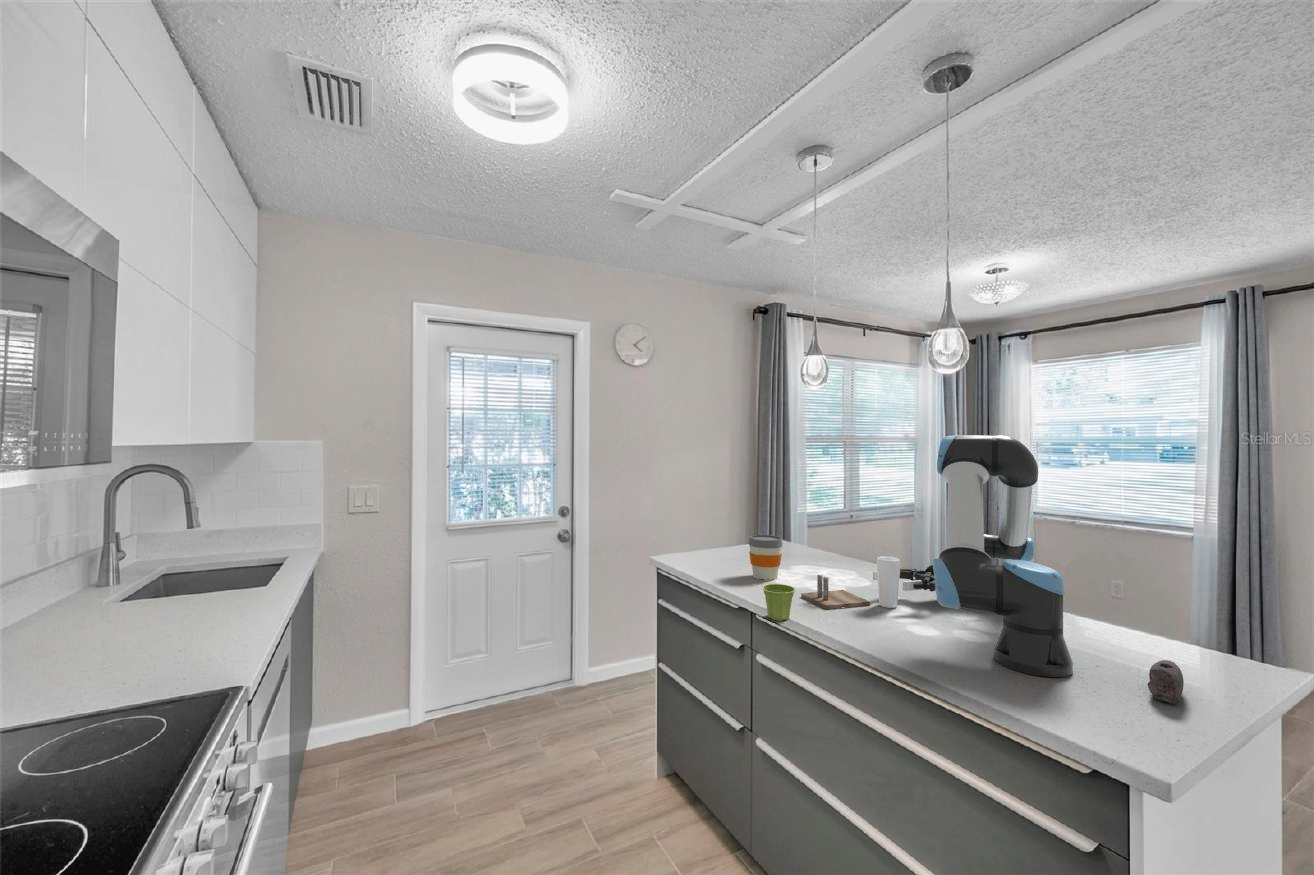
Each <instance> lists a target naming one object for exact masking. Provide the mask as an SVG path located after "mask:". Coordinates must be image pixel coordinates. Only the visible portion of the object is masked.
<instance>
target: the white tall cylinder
mask: <svg viewBox="0 0 1314 875" xmlns="http://www.w3.org/2000/svg"><path fill="white" fill-rule="evenodd" d="M900 569H901V559H900V558H898V557H895V556H889V555H885V556H884V555H882V556H881V555H880V556H878V557H877V558H876V571H877V579H878V580H877V588H878V590H877V592H878V604H879V606H881V607H882V608H886V609H895V608H898V598H899V589H900V588H899V587H900V580H901V579H900Z"/></svg>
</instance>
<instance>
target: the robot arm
mask: <svg viewBox="0 0 1314 875" xmlns="http://www.w3.org/2000/svg"><path fill="white" fill-rule="evenodd" d="M939 443H940V444H939V447H938V452H937V454H938V455H937V459H936V460H937V461H936V470H937V473H938V474H939V475H942V478H943V481H944V482H945V483H947V505H946V507H947V510H946V544H945V545H946V546H945V548H944V549H942V551H941V552H939V556H938V557H939V558H938V557H937V558H933V560H932V565H929V566H927V567H926V569H925V570H924V569H920V570H917V568H900V579H899V580H903V581H902V591H904V592H908V591H909V592H910V591H911V592H912V591H920V590H923V591H929V592H935V595H936V596H935V597H936V601H937V603H938V605H940V606H942V607H944V608H950V609H955V610H956V611H967V612H975V613H976V612H977V613H982V614H990V615H999V616H1002V628H1001V629H1000V632H999V635H998V637H997V640H996V642H995V645H994V650H993V657H994V659H995V661H996V662H998V663H999V664H1000V665H1003V666H1005V667H1006V668H1008V669H1011V670H1014V671H1016V672H1017V671H1018V672H1020V673H1024V674H1028V675H1032V676H1038V677H1045V678H1065V677H1069V676H1071V675H1072V674H1073V673H1074V667H1073V664H1074V662H1073V660H1072V657H1071V654H1070V651H1069V649H1068V646H1067V643H1066V640H1065V637H1064V595H1065V594H1066V593H1065V591H1064V579H1063V576H1062V575H1061V573H1060V572H1058V570H1055V569H1053V568H1051V567H1049V566H1046V565H1043V564H1040V563H1036V562H1032V561H1034V556H1035V545H1034V539H1033V538H1030V537H1028V534H1029V526H1030V525H1029V523H1030V514H1031V505H1032V496H1033V486H1034V485H1035V484H1037V482H1038V479H1039V466H1038V462H1037V460H1036V459H1035V456H1034V455H1033V453H1032V452H1031V451H1030V449H1029V448H1028V447H1027V446H1026V445H1025V444H1023V443H1022V442H1020V441H1019V440H1018V439H1015V438H1013V437H1011V436H1008V435H1001V434H999V435H998V434H997V435H974V434H971V435H969V434H968V435H965V434H964V435H962V434H961V435H960V434H956V435H947V436H944V437H942V438H941V440H940V442H939ZM990 477H997V478H998V481H999V482H1000V483H1001V489H1000V490H1001V492H1000V506H999V523H998V525H999V529H998V534H997V535H996V534H995V535H994V534H985V523H984V522H985V521H984V520H985V519H984V511H985V510H984V485H985V484H986V483H987V482H988V481H989V478H990ZM992 559H996V560H1003V562H1002V564H1001V565H1000V564H993V561H992ZM872 580H874V581H878V579H877V570H873V571H872ZM904 580H905V581H904Z"/></svg>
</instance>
